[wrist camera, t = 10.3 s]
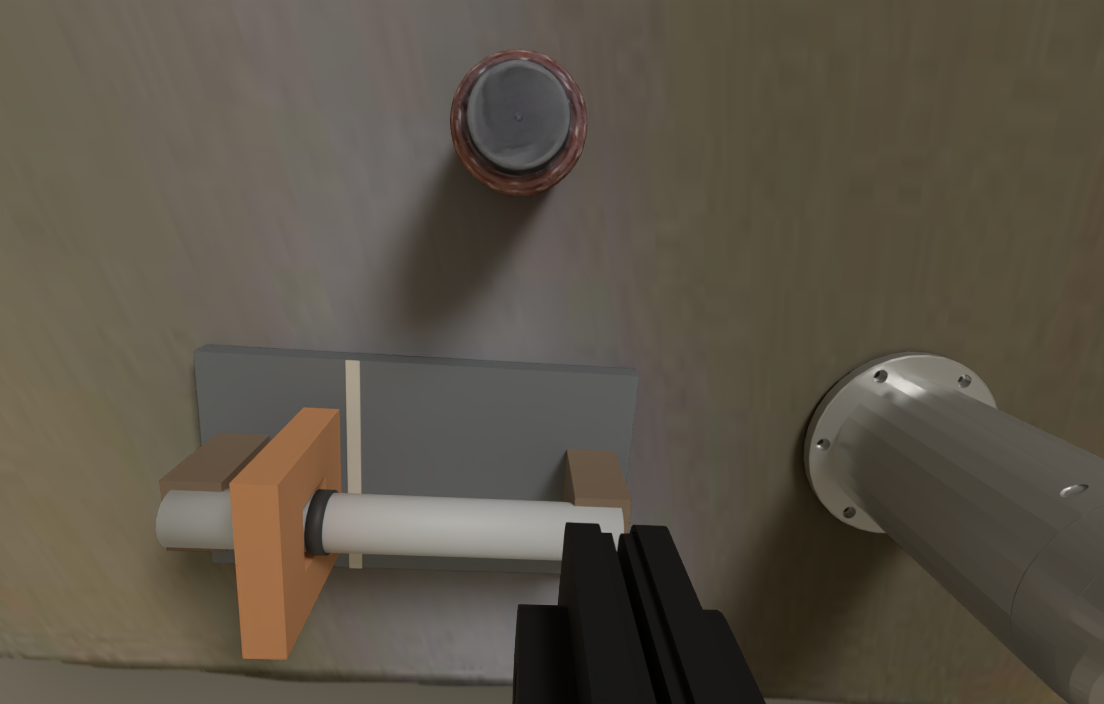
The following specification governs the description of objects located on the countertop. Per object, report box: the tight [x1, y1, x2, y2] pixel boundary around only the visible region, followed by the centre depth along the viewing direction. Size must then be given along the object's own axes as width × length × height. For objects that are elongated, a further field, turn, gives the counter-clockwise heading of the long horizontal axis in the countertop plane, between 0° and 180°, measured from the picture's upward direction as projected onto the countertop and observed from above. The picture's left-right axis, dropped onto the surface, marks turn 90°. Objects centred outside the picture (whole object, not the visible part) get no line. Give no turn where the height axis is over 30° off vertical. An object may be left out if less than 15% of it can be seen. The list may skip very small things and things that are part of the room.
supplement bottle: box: [450, 49, 587, 196], centre depth 28 cm, size 6×6×11 cm
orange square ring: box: [229, 407, 341, 660], centre depth 31 cm, size 2×9×9 cm, turn 176°
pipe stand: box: [156, 345, 639, 574], centre depth 34 cm, size 26×14×9 cm, turn 86°
